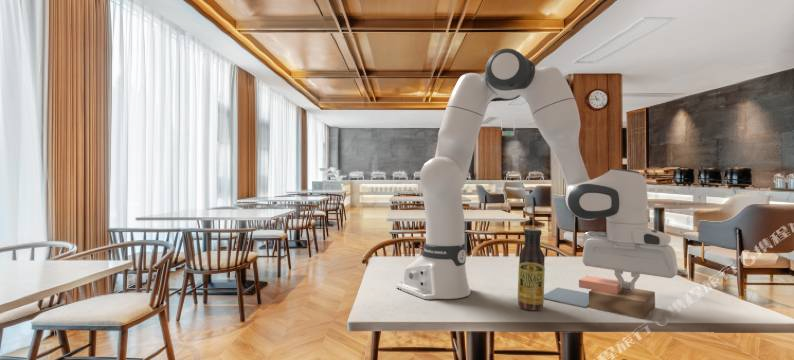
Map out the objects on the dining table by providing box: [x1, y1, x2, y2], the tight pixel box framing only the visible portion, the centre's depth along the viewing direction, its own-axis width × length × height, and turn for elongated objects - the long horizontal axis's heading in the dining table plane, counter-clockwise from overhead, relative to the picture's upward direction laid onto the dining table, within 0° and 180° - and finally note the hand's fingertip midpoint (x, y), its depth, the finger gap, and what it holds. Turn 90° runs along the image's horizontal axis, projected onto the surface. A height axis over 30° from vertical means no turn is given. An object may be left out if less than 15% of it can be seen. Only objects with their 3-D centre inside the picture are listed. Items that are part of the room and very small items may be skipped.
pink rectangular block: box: [578, 275, 623, 294], centre depth 99 cm, size 9×6×2 cm, turn 46°
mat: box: [544, 287, 589, 309], centre depth 104 cm, size 12×13×1 cm
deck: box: [588, 288, 656, 320], centre depth 96 cm, size 12×11×4 cm
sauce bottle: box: [517, 228, 546, 311], centre depth 96 cm, size 6×6×20 cm
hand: (627, 289), depth 95 cm, fingers closed
